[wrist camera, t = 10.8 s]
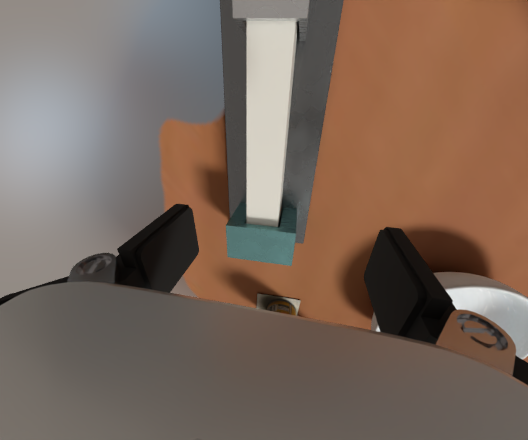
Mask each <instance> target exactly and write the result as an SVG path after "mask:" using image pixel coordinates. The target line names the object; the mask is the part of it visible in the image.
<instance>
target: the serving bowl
mask: <svg viewBox="0 0 528 440" xmlns="http://www.w3.org/2000/svg"><path fill="white" fill-rule="evenodd" d="M433 274H434V275H435V276H436V278H437V279H438V281H439V282H440V283H441V285H442V286H443V288H444V289H445V290H446V292H447V293H448V294H449V296H450V297H451V299H452V300H453V302H452V303H453V305H454V306H455V308H456V309H457V310H459V309H461V310H469V311H472V312H475V313H478V314H480V315H482V316H484V317H486V318H488V319H490V320H491V321H493V322H494V323H496V324H497V325H498V326H500V327H501V328H502V329H503V330H504V331H505V332H506V333H507V334H508V335H509V336H510V337H511V338H512V340H513V342H514V343H515V346H516V356H517V357H519V358H521V359H524V358H525V357H527V356H528V297H526V296H524V295H523V294H521V293H520V292H518V291H516V290H515V289H513V288H511V287H509V286H507V285H505V284H503V283H501V282H498V281H496V280H493V279H490V278H487V277H484V276H480V275H475V274H470V273H462V272H437V273H433ZM371 330H373V331H378V332H380V329H379V326H378V323H377V320H376V316H375V313H373V317H372V324H371Z"/></svg>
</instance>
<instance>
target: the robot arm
mask: <svg viewBox="0 0 528 440" xmlns="http://www.w3.org/2000/svg"><path fill="white" fill-rule="evenodd" d="M117 250H118V252H119V255H118V256H117V257H116V256H115V255H113V254H110V253H100V254H95V255H92V256H89V257H87V258H85V259H83V260H81V261H80V262H78V263H77V264H76V265H75V266H74V267H73V268H72V270H71V272H70V275H69V276H68V277H65V278H62V279H58V280H55V281H52V282H48V283H45V284H42V285H39V286H36V287H32V288H29V289H26V290H23V291H19V292H16V293H12V294H9V295H6V296H4V297H2V298H0V440H528V363H527V362H525V361H524V360H522V359H521V358H519V357H517V356H516V346H515V343H514V342H513V340H512V338H511V337H510V336H509V335H508V334H507V333H506V332H505V331H504V330H503V329H502V328H501V327H500V326H498V325H497V324H496V323H494V322H493V321H491V320H490V319H488V318H486V317H484V316H482V315H480V314H478V313H475V312H472V311H469V310H461V309H459V310H457V309H456V308H455V306H454V305H453V303H452V302H453V300H452V299H451V297H450V296H449V294H448V293H447V292H446V290H445V289H444V288H443V286H442V285H441V283H440V282H439V281H438V279H437V278H436V276H435V275H434V274H433V272H432V271H431V270H430V268H429V267H428V265H427V264H426V263H425V261H424V260H423V258H422V257H421V256H420V254H419V253H418V252H417V250H416V249H415V247H414V246H413V245H412V243H411V242H410V240H409V239H408V238H407V236H406V235H405V234H404V232H403V231H402V230H401V229H399V228H390V227H386V228H385V229H384V230H380V232H379V234H378V237H377V240H376V242H375V245H374V248H373V251H372V253H371V256H370V259H369V262H368V264H367V267H366V270H365V273H364V281H365V284H366V287H367V290H368V294H369V297H370V300H371V303H372V307H373V310H374V313H375V316H376V320H377V323H378V326H379V329H380V332H378V331H373V330H368V329H363V328H358V327H353V326H348V325H342V324H337V323H332V322H326V321H321V320H316V319H311V318H305V317H300V316H295V315H289V314H284V313H279V312H273V311H268V310H262V309H257V308H251V307H246V306H241V305H235V304H230V303H224V302H219V301H213V300H208V299H202V298H196V297H190V296H185V295H179V294H174V293H170V291H171V290H172V289H173V288H174V286H175V285H176V283H177V282H178V281H179V279H180V278H181V277H182V275H183V274H184V273H185V271H186V270H187V269H188V267H189V266H190V264H191V263H192V262H193V260H194V259H195V258H196V256H197V255H198V252H199V247H198V241H197V235H196V229H195V223H194V217H193V211H192V209H191V208H190V207H189V206H188V205H184V204H175V205H174V206H173V207H171V208H170V209H169V210H167V211H166V212H165V213H164V214H162V215H161V216H160V217H158V218H157V219H156V220H154V221H153V222H152V223H151V224H149V225H148V226H146V227H145V228H144V229H143V230H141V231H140V232H139V233H137V234H136V235H135V236H133V237H132V238H131V239H130V240H128V241H127V242H126V243H124V244H123V245H122V246H120V247H119V248H118V249H117Z"/></svg>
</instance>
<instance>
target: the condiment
mask: <svg viewBox="0 0 528 440" xmlns="http://www.w3.org/2000/svg"><path fill="white" fill-rule="evenodd" d="M299 305H300V300H295V299H289V298H285V297H278V296H277V297H275V296H270V295H262V294H257V309H262V310H268V311H273V312H279V313H284V314H289V315H295V316H297V313H298V309H299Z"/></svg>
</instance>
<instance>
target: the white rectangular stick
mask: <svg viewBox="0 0 528 440" xmlns="http://www.w3.org/2000/svg"><path fill="white" fill-rule="evenodd" d="M297 30H298V21H247V224H255V225H264V226H272V227H279V225H280V215H281V204H282V194H283V183H284V172H285V161H286V150H287V139H288V128H289V117H290V106H291V95H292V85H293V74H294V63H295V52H296V41H297Z"/></svg>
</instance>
